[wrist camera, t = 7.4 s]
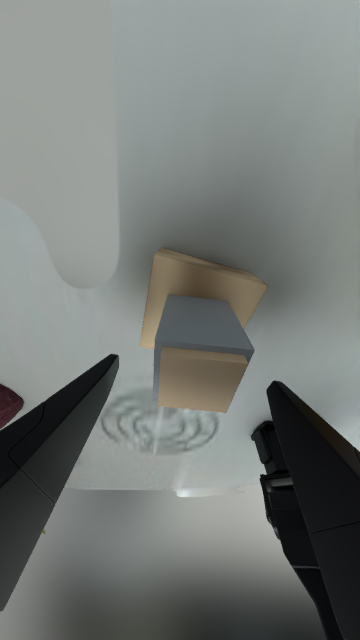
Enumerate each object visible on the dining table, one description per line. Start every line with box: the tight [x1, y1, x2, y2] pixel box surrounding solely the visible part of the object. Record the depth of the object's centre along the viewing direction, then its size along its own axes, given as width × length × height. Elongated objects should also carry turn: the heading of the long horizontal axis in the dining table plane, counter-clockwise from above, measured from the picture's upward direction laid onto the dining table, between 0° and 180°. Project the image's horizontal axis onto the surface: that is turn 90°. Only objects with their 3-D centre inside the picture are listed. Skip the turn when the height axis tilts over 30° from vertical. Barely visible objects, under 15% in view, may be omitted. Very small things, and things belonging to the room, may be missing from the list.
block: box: [140, 248, 268, 349], centre depth 16 cm, size 9×9×4 cm
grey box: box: [153, 294, 254, 413], centre depth 11 cm, size 5×5×7 cm
